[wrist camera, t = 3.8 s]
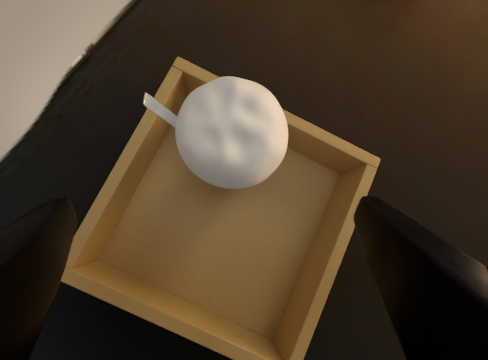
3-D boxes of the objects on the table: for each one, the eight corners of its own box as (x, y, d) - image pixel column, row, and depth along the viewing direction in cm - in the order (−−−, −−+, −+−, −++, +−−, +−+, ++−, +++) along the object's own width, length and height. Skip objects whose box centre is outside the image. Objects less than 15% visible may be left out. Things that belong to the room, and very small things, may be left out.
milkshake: (183, 128, 19) (156, 33, 10) (260, 141, 20) (310, 64, 10) (171, 194, 19) (129, 165, 9) (251, 206, 19) (296, 191, 9)
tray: (275, 352, 18) (292, 387, 15) (84, 264, 18) (50, 276, 14) (349, 169, 21) (381, 158, 17) (183, 86, 20) (177, 55, 16)
